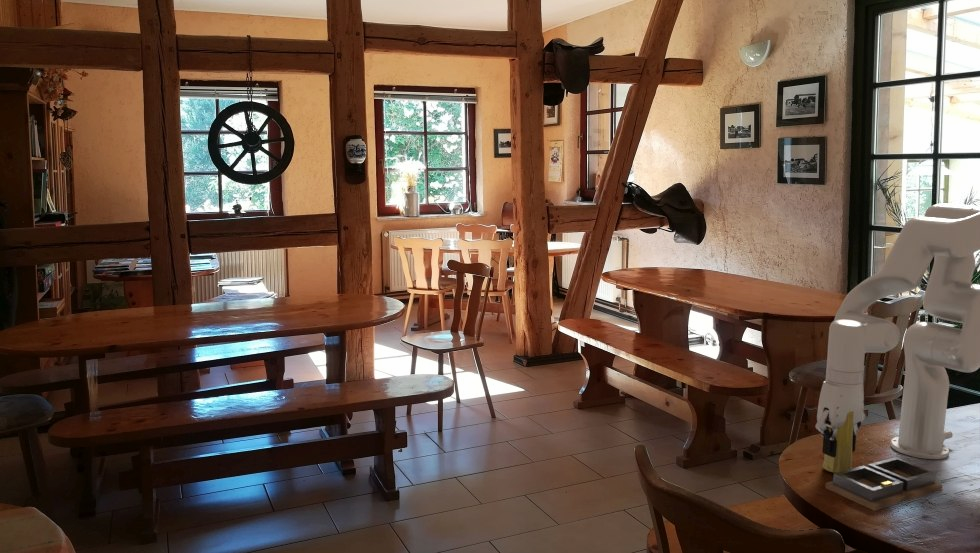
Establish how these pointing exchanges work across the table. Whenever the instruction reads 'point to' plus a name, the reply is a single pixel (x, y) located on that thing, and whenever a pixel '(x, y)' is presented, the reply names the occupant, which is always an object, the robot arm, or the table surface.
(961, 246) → the robot arm
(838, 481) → the two-cubby wall shelf
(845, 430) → the vase
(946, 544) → the table surface
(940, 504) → the table surface
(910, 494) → the board
